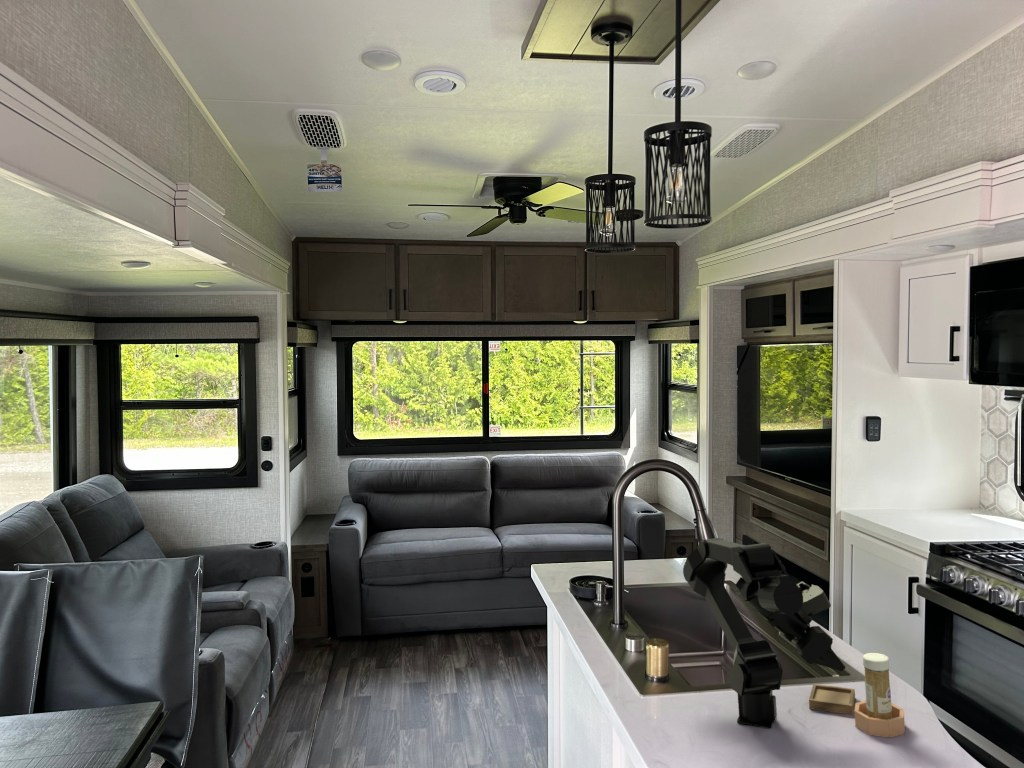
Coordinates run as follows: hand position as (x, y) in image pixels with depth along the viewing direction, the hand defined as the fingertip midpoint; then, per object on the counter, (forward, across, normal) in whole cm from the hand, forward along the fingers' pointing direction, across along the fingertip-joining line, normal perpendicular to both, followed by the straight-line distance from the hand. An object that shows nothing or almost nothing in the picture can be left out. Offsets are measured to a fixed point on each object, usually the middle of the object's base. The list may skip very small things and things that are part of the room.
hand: (834, 659), depth 143 cm
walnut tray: (+11, +10, +8) cm, 17 cm away
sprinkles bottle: (+15, 0, +4) cm, 16 cm away
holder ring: (+15, 0, +4) cm, 15 cm away
